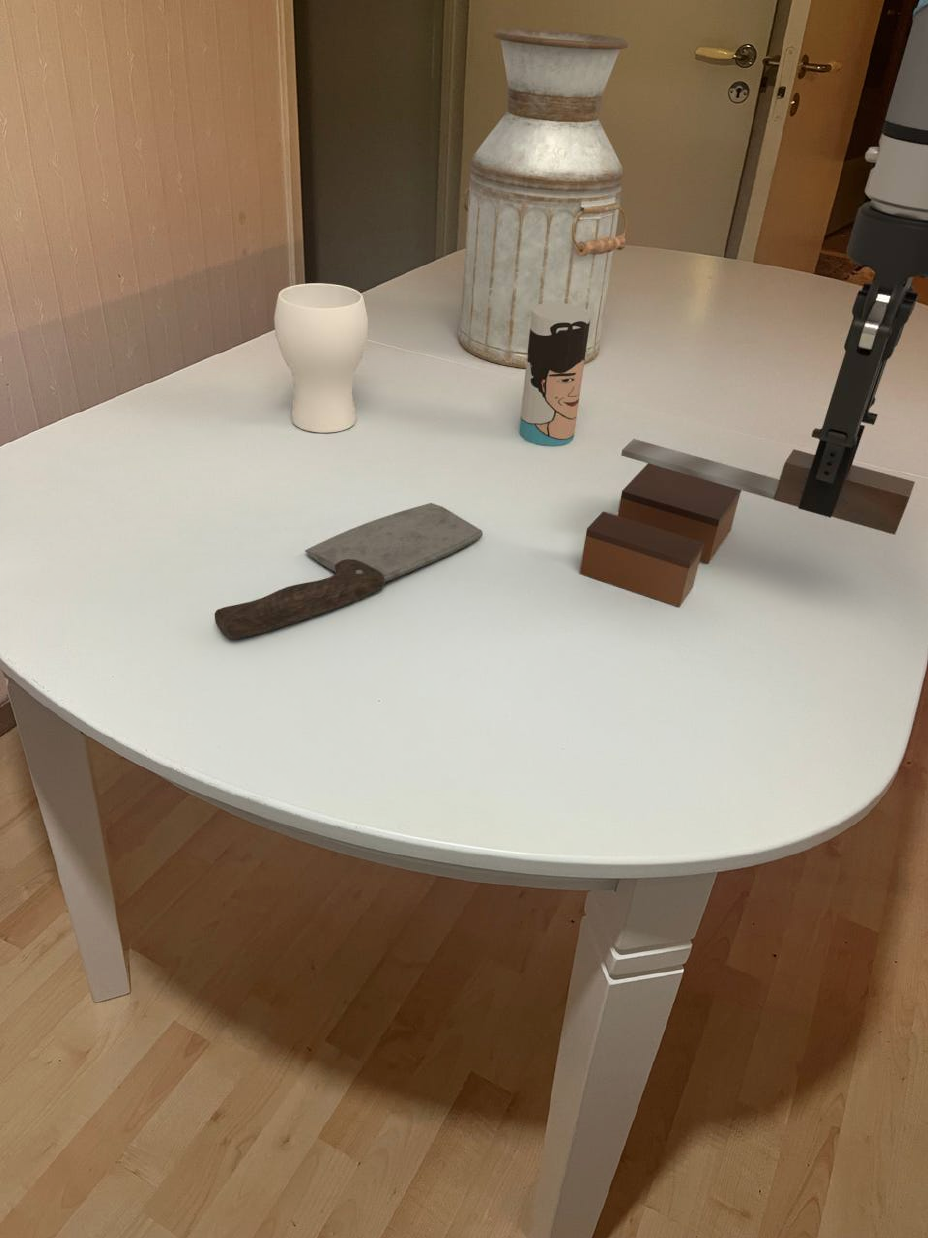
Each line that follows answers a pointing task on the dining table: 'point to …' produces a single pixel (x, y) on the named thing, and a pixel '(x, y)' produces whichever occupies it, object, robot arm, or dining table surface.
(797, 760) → the dining table surface
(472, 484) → the dining table surface
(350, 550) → the cleaver
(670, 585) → the cake slice
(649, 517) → the cake
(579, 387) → the cup
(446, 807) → the dining table surface
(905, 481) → the knife
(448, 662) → the dining table surface
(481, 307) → the milk can
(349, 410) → the cup
